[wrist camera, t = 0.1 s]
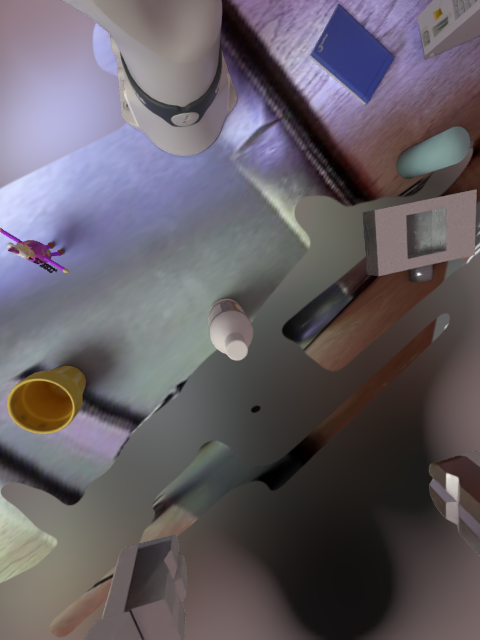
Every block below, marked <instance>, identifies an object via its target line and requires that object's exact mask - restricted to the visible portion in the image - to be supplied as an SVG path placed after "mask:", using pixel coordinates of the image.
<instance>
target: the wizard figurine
mask: <svg viewBox="0 0 480 640" xmlns="http://www.w3.org/2000/svg"><path fill="white" fill-rule="evenodd" d="M0 232H1V233H3V234H4V235H6V236H7V237H9V238H11V239H13V240H14V241H16V242H17V245H14V244H13V243H8V244H7V247H8V248H9V250H8V251H10V252H13V253H16V254H17V255H19V256H21V257H23V258H26V259H27V260H29V261H31V262H34V263H36V264H42V265H40V267H43V268H45V269H47V271H48V272H50V273H52V272H53V271H56V272H57V270H56V269H55V268H53V267H52V266H50V265H49V264H46V263H47V262H49V263H51V264H52V265H54V266H56V267H58V268H59V269H61V270H62V271H63V272H65V273H68V272H69V271H68V269H65V268H64V267H62V266H61V265H59V264H57V263H56V262H54V261H52V260H51V256H61V255H62V254H63V251H62V250H58V251H57V252H54V253H51V252H50V250H49V249H52V248H53V246H54V245H53V243H48V245H44V244H42V243H40V242H38V241H34V240H27V241H24V242H22V241H21V240H19V239H17V238H16V237H14V236H13V235H11V234H9V233H8V232H6V231H4V230H3V229H2V228H0ZM45 265H46V267H47V268H46V267H45ZM49 267H50V269H48V268H49ZM51 269H53V271H50V270H51Z"/></svg>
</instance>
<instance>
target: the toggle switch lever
mask: <svg viewBox="0 0 480 640" xmlns="http://www.w3.org/2000/svg"><path fill="white" fill-rule="evenodd" d="M472 146H473V141H472V140H470V136H469V134H468V132H467V131H466V130H465V129H464V128H462V127H458V126H457V127H452V128H450V129H448V130H446V131H444V132H442V133H440V134H438V135H436V136H434V137H431V138H429V139H427V140H425V141H423V142H421V143H419V144H417V145H415V146H413V147H411V148H409V149H407V150H405V151H403V152H402V153H401V155H400V156H399V158H398V161H397V170H398V173H399V175H400V176H401V177H403V178H405V179H411V178H414V177H417V176H420V175H423V174H426V173H429V172H432V171H435V170H438V169H441V168H444V167H447V166H450V165H453V164H456V163H459V162H460V161H462V160H463V159H464V158H465V157H466V155H467V153H468V151H469V149H470V148H472Z"/></svg>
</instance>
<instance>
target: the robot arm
mask: <svg viewBox="0 0 480 640" xmlns="http://www.w3.org/2000/svg"><path fill="white" fill-rule="evenodd" d="M62 1H63V2H65V3H67V4H69V5H70V6H72V7H74V8H75V9H77V10H78V11H80V12H81V13H83V14H84V15H86V16H87V17H89V18H90V19H91V20H93V21H94V22H96V23H97V24H98V25H99V26H101V27H102V28H103V29H104V30H106V31H107V32H108V33H109V34H110V41H111V46H112V50H113V54H114V56H116V57H117V66H118V68H117V72H118V77H119V88H120V99H121V108H122V116H123V118H124V121H125V122H126V123H127V124H129V125H130V126H132V127H134V128H136V129H138V130H140V131H142V132H143V133H144V134H145V135H146V136H147V137H148V138H149V139H150V140H151V141H152V142H153V143H154V144H155V145H156V146H158V147H159V148H161V149H162V150H164V151H166V152H168V153H171V154H174V155H179V156H190V155H195V154H198V153H200V152H202V151H204V150H206V149H207V148H208V147H209V146H210V145H211V144H212V143H213V142H214V141H215V140H216V138H217V137H218V135H219V133H220V131H221V129H222V126H223V123H224V120H225V118H226V116H227V115H228V114H229V113H230V112H231V111H232V110H233V108H234V107H235V106H236V103H237V94H236V91H235V88H234V85H233V82H232V79H231V76H230V73H229V70H228V68H227V65H226V62H225V59H224V56H223V53H222V49H221V43H220V35H221V22H222V0H62ZM127 106H129V108H130V109H128V108H127ZM429 474H430V475H431V476H432V477H433V480H432V482H431V483H430V485H429V486H430V494H431V497H432V499H433V502H434V504H435V505H436V507H437V508H438V510H439V511H440V512H441V513H442V515H443V516H444V517H445V518H446V519H447V520H449V521H451V522H453V523H455V524H457V525H458V530H459V534H460V535H461V536H462V537H463V538H464V539H465V541H466V542H467V543H468V544H469V545H470V546H471V547H472V548H473V549H474V551H475V552H476V553H477V554H478V555H479V556H480V452H478V451H475V452H471V453H468V454H464V455H461V456H455V457H452V458H449V459H445V460H442V461H439V462H435V463H432V464H431V465H430V467H429ZM178 546H179V542H178V540H177V537H176V535H172V536H168V537H164V538H159V539H155V540H151V541H147V542H143V543H139V544H135V545H132V546H128V547H124V548H123V549H122V551H121V553H120V555H119V558H118V562H117V565H116V569H115V572H114V576H113V580H112V583H111V587H110V591H109V594H108V598H107V602H106V605H105V609H104V612H103V616H102V619H100V620H97V621H95V623H94V624H93V626H92V627H91V629H90V630H89V631H88V633H87V634H86V635H85V637H84V638H83V640H184V636H185V617H186V614H185V611H184V608H183V605H182V602H183V600H184V598H185V596H186V594H187V573H186V564H185V560H184V557H183V554H182V553H180V552H179V551H178Z"/></svg>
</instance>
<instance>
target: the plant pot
mask: <svg viewBox="0 0 480 640" xmlns="http://www.w3.org/2000/svg"><path fill="white" fill-rule="evenodd" d="M85 386H86V379H85V376H84V374H83V373H82V372H81V371H80V370H79V369H77V368H76V367H73V366H61V367H58V368H55V369H53V370H50V371H40V372H37V373H34V374H32V375H30V376H28V377H27V378H25V379H24V380H22V381H21V382H20V383H18V384H17V385H16V386H15V387H14V388H13V389H12V390H11V392H10V393H9V396H8V399H7V409H8V412H9V414H10V416H11V418H12V419H13V421H14V422H15V423H16V424H17V425H19V426H20V427H21V428H23V429H25V430H27V431H30V432H33V433H39V434H48V433H54V432H57V431H59V430H62V429H63V428H65V427H66V426H67V425H69V424H70V423H71V421H72V420H73V419H74V418H75V416H76V415H77V413H78V412H79V410H80V408H81V405H82V394H83V391H84V389H85Z"/></svg>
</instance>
